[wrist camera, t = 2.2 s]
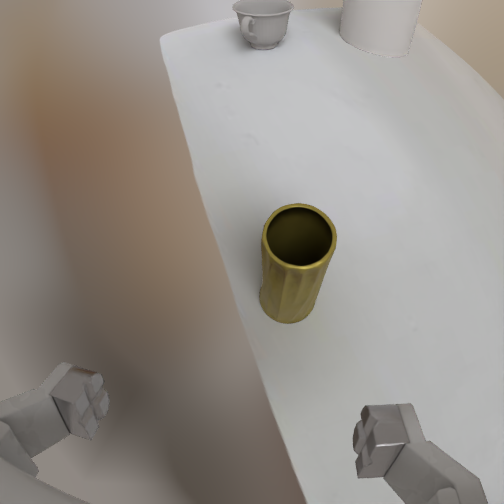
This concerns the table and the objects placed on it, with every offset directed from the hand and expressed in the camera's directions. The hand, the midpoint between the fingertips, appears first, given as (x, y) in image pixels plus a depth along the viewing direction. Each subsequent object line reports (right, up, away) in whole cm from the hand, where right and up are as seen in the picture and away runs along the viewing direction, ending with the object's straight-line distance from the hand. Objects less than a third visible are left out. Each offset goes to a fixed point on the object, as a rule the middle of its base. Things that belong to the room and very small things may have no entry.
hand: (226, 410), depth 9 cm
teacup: (+3, +47, +49) cm, 68 cm away
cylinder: (+30, +55, +51) cm, 81 cm away
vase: (+5, 0, +26) cm, 27 cm away
